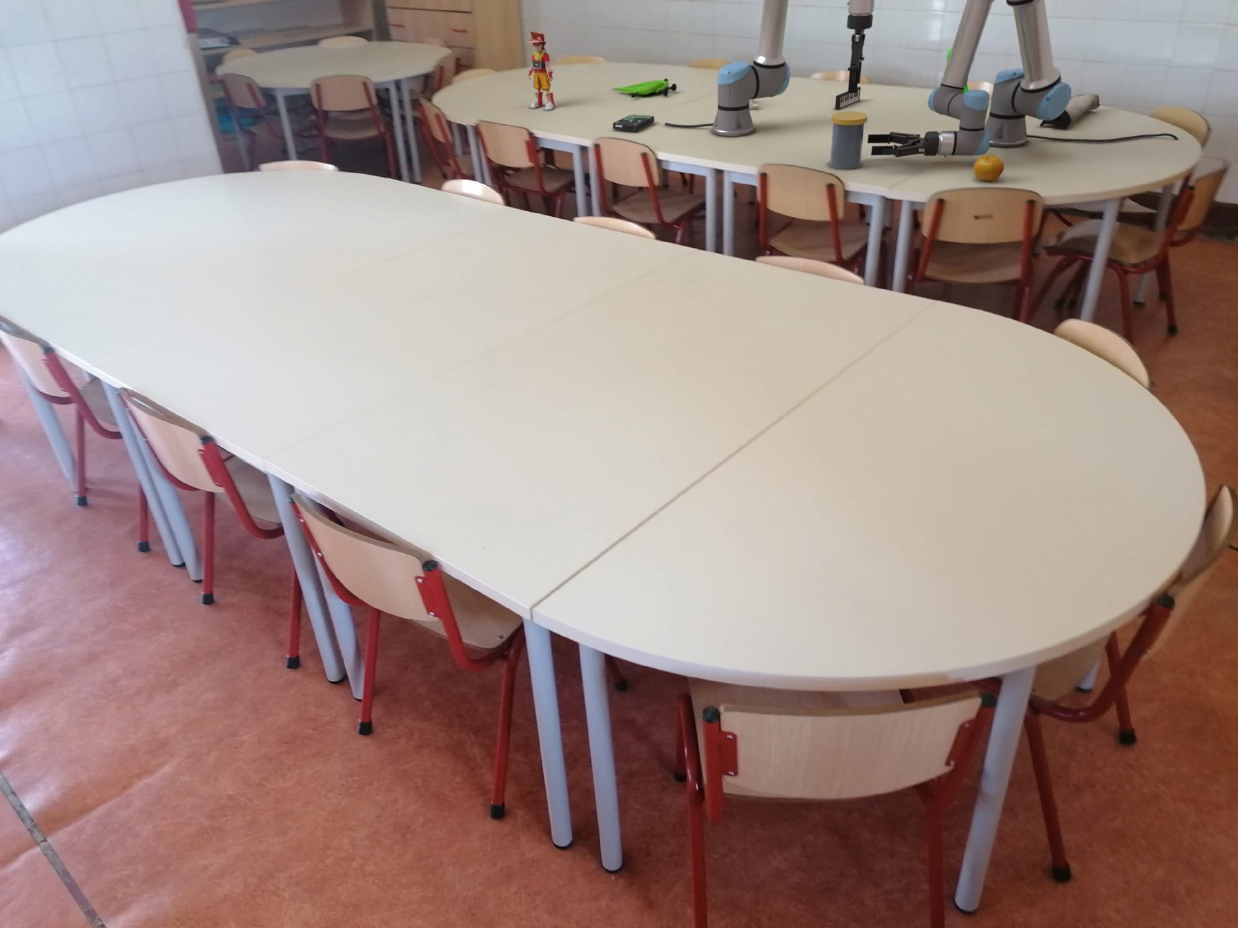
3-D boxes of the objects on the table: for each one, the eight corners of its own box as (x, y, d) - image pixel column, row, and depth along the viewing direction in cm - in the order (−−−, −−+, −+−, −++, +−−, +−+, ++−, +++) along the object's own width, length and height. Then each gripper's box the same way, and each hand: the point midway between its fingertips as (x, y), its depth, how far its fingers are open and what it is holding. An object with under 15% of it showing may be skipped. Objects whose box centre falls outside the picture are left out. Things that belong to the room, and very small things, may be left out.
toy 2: (686, 85, 398) (631, 84, 414) (685, 72, 395) (629, 72, 411) (651, 104, 381) (596, 103, 397) (650, 92, 378) (594, 91, 394)
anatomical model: (725, 81, 368) (749, 74, 367) (729, 106, 374) (753, 100, 373) (732, 89, 356) (756, 82, 355) (736, 115, 362) (760, 109, 361)
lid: (839, 127, 283) (840, 121, 282) (825, 118, 292) (826, 113, 291) (873, 123, 284) (873, 118, 283) (857, 115, 293) (858, 109, 293)
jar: (836, 170, 291) (841, 122, 283) (825, 162, 299) (828, 115, 291) (865, 167, 293) (870, 119, 284) (852, 159, 301) (857, 112, 292)
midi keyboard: (837, 109, 354) (838, 96, 352) (834, 109, 355) (835, 95, 352) (859, 100, 365) (861, 87, 362) (857, 99, 366) (858, 86, 363)
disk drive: (635, 133, 342) (654, 123, 352) (635, 125, 340) (654, 115, 350) (612, 130, 346) (632, 120, 356) (612, 123, 345) (631, 113, 355)
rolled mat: (1067, 99, 337) (1091, 81, 329) (1080, 119, 338) (1105, 102, 330) (1036, 120, 320) (1061, 102, 312) (1050, 141, 321) (1075, 124, 312)
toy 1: (525, 109, 381) (517, 32, 364) (534, 104, 388) (527, 28, 371) (550, 110, 377) (543, 32, 360) (559, 105, 384) (553, 28, 367)
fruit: (968, 171, 273) (986, 147, 270) (968, 173, 280) (985, 150, 277) (991, 186, 271) (1009, 163, 268) (990, 188, 279) (1008, 165, 276)
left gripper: (850, 7, 283) (845, 79, 295) (844, 21, 263) (838, 97, 275) (875, 7, 281) (868, 79, 293) (870, 20, 261) (863, 97, 273)
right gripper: (941, 167, 280) (871, 168, 283) (930, 144, 300) (865, 145, 303) (945, 142, 275) (874, 143, 278) (933, 121, 295) (867, 122, 299)
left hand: (853, 88), depth 284 cm, fingers open, 13 cm apart
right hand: (869, 144), depth 291 cm, fingers open, 13 cm apart
